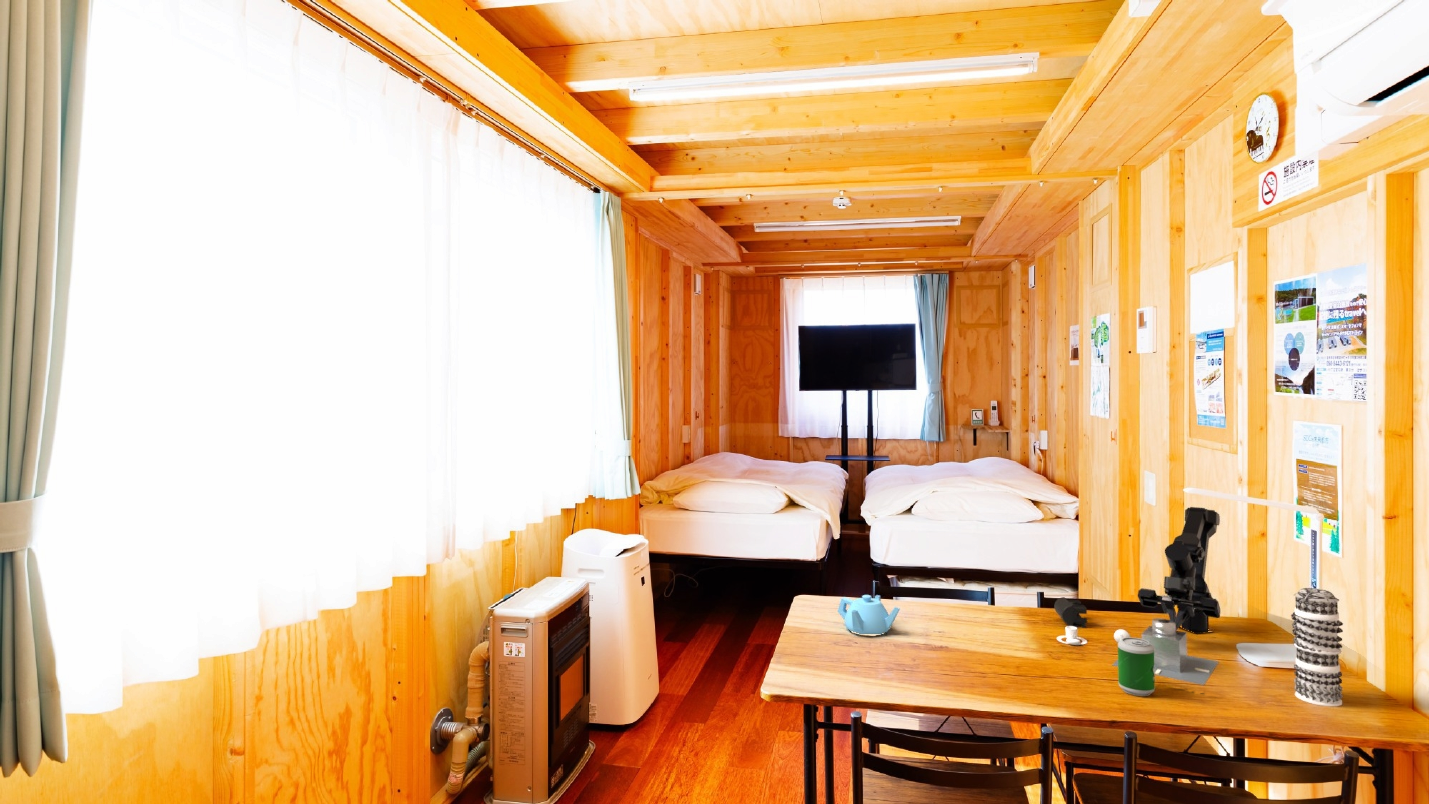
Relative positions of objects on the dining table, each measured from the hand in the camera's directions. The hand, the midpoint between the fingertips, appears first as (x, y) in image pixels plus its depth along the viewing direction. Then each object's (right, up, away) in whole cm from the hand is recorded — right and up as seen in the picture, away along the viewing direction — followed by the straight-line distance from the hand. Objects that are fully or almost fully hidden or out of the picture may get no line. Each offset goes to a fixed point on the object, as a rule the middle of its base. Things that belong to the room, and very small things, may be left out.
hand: (1173, 630), depth 195 cm
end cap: (-13, -8, +30) cm, 34 cm away
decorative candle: (+15, -7, -29) cm, 33 cm away
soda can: (-23, -8, -22) cm, 33 cm away
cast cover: (-8, -6, -8) cm, 13 cm away
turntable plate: (-7, -7, -8) cm, 13 cm away
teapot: (-77, -9, +27) cm, 82 cm away
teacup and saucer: (-24, -8, +14) cm, 29 cm away
